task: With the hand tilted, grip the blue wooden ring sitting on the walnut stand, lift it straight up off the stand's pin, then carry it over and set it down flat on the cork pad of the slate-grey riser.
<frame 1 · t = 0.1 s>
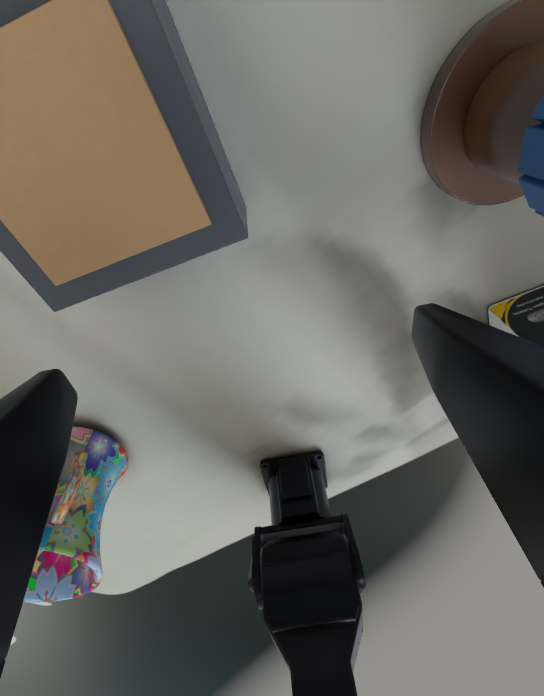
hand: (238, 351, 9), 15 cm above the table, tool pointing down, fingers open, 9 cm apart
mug: (87, 439, 33), on the table
riser: (109, 144, 19), on the table
stand: (504, 111, 19), on the table
medicine bottle: (533, 320, 28), on the table
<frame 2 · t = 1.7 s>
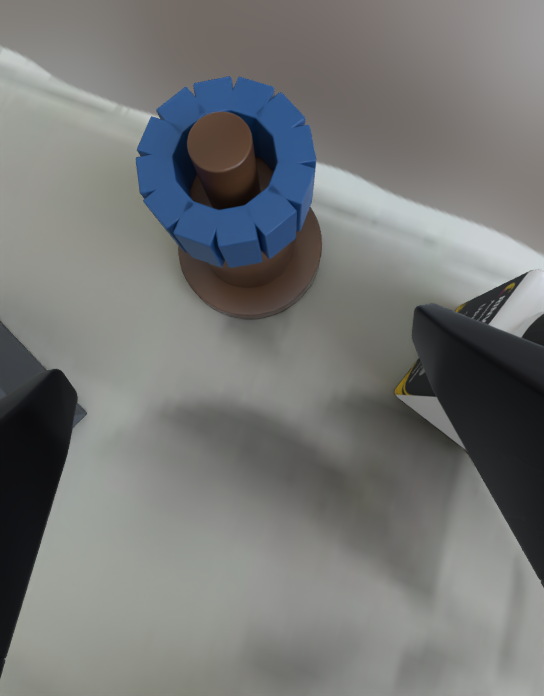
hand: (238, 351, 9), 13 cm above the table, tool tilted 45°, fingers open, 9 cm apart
ring: (234, 193, 16), point 7 cm above the table, touching stand
stand: (251, 251, 23), on the table
medicine bottle: (472, 383, 22), on the table
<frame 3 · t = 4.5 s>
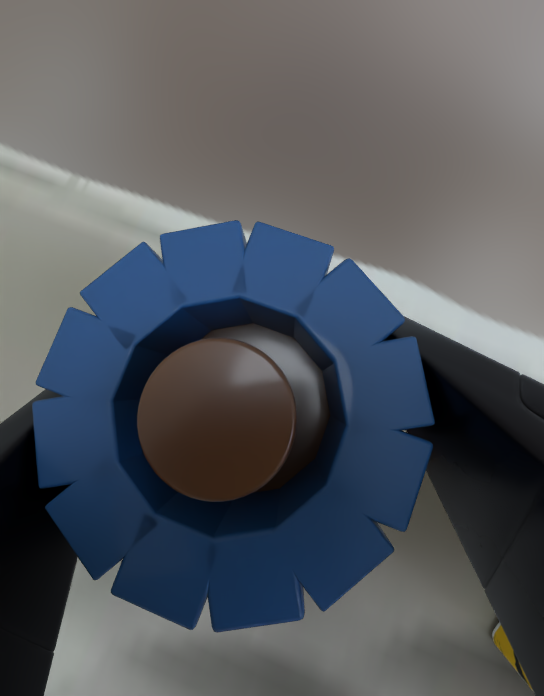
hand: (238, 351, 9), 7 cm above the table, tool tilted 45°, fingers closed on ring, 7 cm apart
ring: (244, 406, 9), point 7 cm above the table, touching gripper, stand
stand: (265, 399, 16), on the table
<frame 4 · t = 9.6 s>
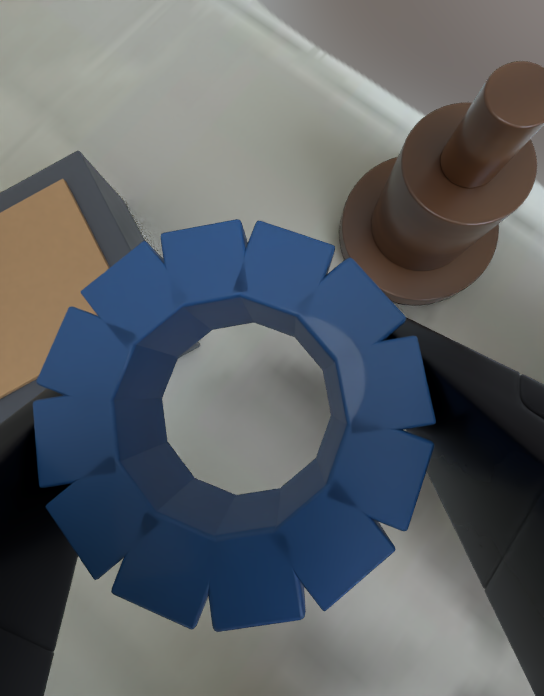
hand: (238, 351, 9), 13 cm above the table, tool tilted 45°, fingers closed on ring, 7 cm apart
ring: (245, 406, 9), point 13 cm above the table, touching gripper
riser: (84, 313, 22), on the table
stand: (412, 234, 22), on the table
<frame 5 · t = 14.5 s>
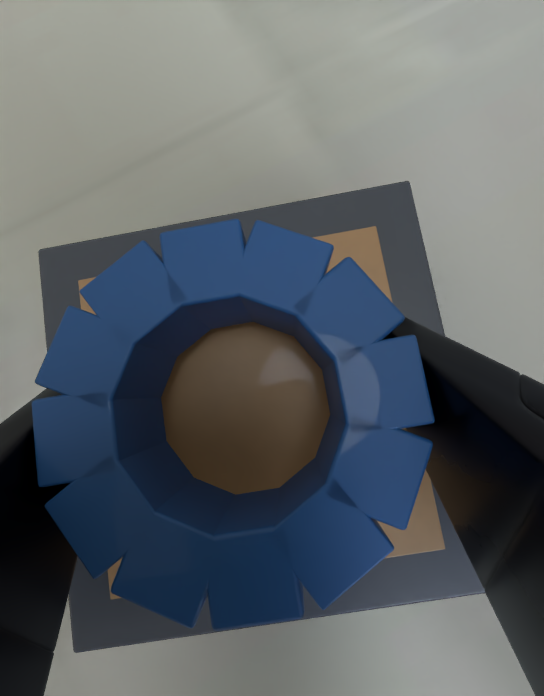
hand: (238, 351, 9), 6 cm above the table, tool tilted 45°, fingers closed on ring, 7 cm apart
ring: (244, 405, 9), point 6 cm above the table, touching gripper
riser: (264, 399, 15), on the table
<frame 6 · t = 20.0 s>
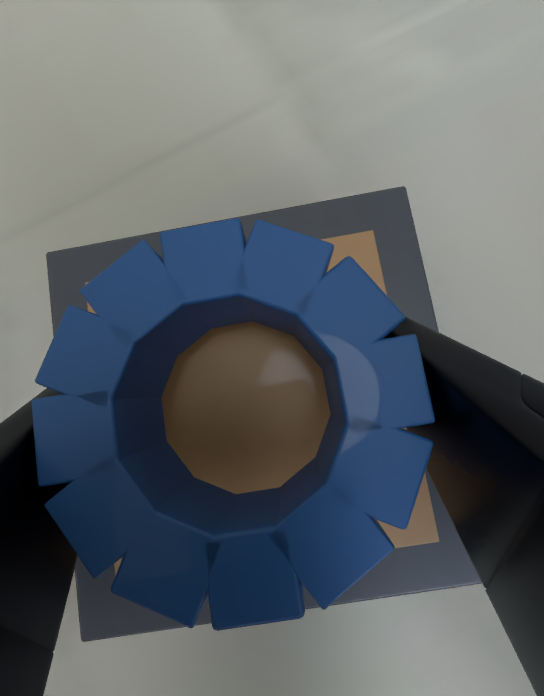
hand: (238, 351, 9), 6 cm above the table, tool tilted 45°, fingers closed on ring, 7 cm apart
ring: (244, 405, 9), point 6 cm above the table, touching gripper
riser: (264, 398, 15), on the table
when the fingers open (7 cm above the table, at t = 25.4 s): ring drops 1 cm, resting on riser.
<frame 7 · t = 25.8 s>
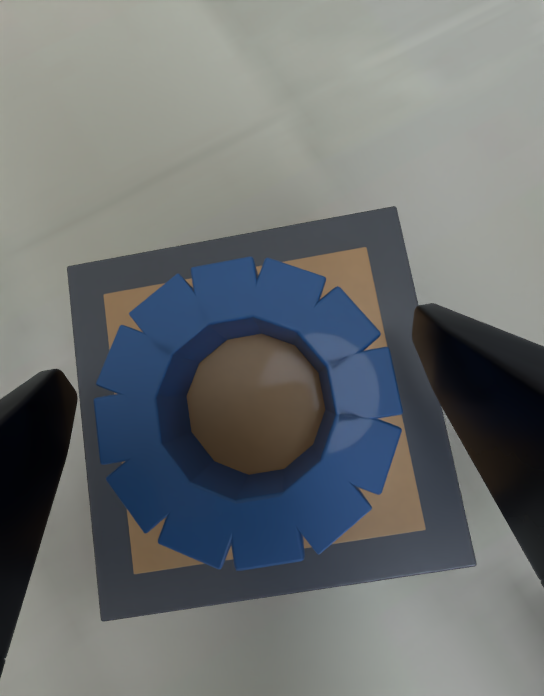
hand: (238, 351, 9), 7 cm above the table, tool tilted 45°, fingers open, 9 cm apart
ring: (255, 402, 11), point 5 cm above the table, touching riser
riser: (266, 399, 16), on the table
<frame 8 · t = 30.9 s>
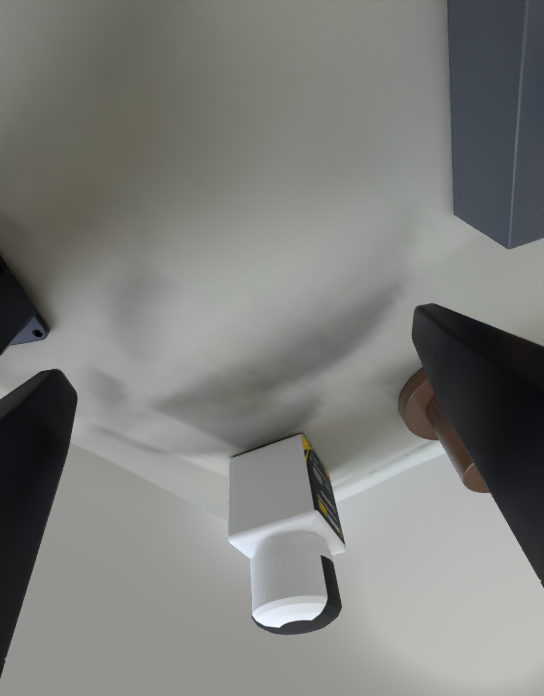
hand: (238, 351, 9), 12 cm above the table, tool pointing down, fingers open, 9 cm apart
stand: (454, 392, 28), on the table
medicine bottle: (280, 463, 33), on the table
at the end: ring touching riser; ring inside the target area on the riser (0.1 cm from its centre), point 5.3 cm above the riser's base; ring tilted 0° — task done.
